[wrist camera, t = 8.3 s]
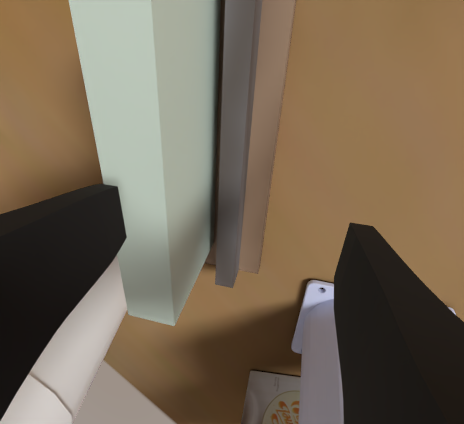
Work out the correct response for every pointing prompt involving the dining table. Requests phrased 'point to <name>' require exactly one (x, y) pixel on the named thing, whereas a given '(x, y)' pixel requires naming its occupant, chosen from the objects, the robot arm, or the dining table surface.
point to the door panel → (155, 136)
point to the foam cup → (71, 356)
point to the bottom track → (247, 128)
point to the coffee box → (271, 399)
